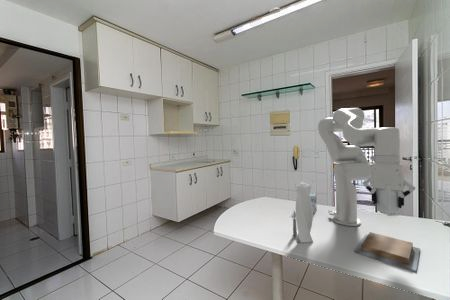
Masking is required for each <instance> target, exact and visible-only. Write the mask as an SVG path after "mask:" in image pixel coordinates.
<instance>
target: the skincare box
mask: <svg viewBox="0 0 450 300" xmlns="http://www.w3.org/2000/svg"><path fill="white" fill-rule="evenodd" d="M398 197H399V194H398V192H397V191H392V190H390V184H385V189H384V190H383V189H376V199H377V203H376V211H377V212H379V213H382V214H384V215H387V216H389V217H394V216H395V217H396V216H398V217H399V216H400V208H398Z"/></svg>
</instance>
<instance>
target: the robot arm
mask: <svg viewBox="0 0 450 300" xmlns="http://www.w3.org/2000/svg"><path fill="white" fill-rule="evenodd" d="M331 116H332V117H325V118H322V119H320V120H319V122H318V125H317V130H318V134H319V136H320V138H321V139H322V141H323V142H324V144H325V146H326V148H327V151H328V154H329V156H330V159H331V160H332V162H334V163H336V164H335V165H334V166H333V170H332V171H333V176H334V181H335V182H334V183H335V207H336V208H335V210H332V209H328V215H329V216H333V217H332V220H333V221H334V223H336V224H338V225H342V226H347V227H356V226H357V227H358V226H360V225H361V223H362V222H361V219H359V218H358V202H357V201H358V198H357V197H358V194H357V193H358V192H357V191H358V190H357V187H356V185H354V183H353V181H354V182H355V181H362V185H363V187H365V188H366V190H367V191H368V192H369V193H370V195H371V201H372V203H373V205H375V204H376V205H377V199H376V189H383V190H384V189H385V184H390V190H392V191H397V192H398V208H399V209H401V208H402V206H403V207H405V206H404V205H405V197H407V196H409V195H410V194H411V193H413V192H414V191H415V190H416V189H417V188H416V186H415V185H413V184H411V183H410V182H409V181H407V180H406V179H405V173H404V172H405V171H404V167H403V164H402V163H400V161H401V158H400V157H401V156H400V154H401V153H400V152H401V151H400V150H401V149H400V129H399V128H398V127H392V126H391V127H370V128H369V127H368V128H367V127H366V128H365V127H364V128H362V127H363V125H364V121H365V120H364V119H365V112H364V110H362V109H361V108H359V107H349V108H339V109H337V110H335V111H334V112H333V113H332V115H331ZM338 132H340V133H341V132H342V135H343V138H344V140H345V141H346V142H347V143H349V144H350V145H345V143H344V142H343V140H342V138H341V137H340V136H339V135H337V134H336V133H338ZM361 147H374V155H373V156H369V158H370V161H373V162H372V164H371V165H370V163H369V161H368V159H367V157H366V155H365V152H364V151H363V149H362V148H361ZM369 184H370V185H369ZM405 186H406V187H407V189H406V190H405V191H404V188H405Z"/></svg>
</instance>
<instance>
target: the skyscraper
mask: <svg viewBox="0 0 450 300" xmlns="http://www.w3.org/2000/svg"><path fill="white" fill-rule="evenodd" d="M305 181H311V182H310V184H309V183H307V182H305ZM313 183H314V179H311V178H304V179H302V180H301V182H299V183H296V184H295V185H294V186H295V187H294V188H295V193H296V197H295V198H296V199H295V210H293V219H292V221H293V222H292V223H293V224H292V237H293V240H295V242H296V243H297V244H307V243H308V244H309V243H314V240H313V237H312V235H311V231H312V226H313V222H314V221H313V220H314V213H313V206H312V201H311V198H310V193H311V190H312V185H313Z"/></svg>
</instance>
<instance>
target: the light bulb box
mask: <svg viewBox="0 0 450 300" xmlns="http://www.w3.org/2000/svg"><path fill="white" fill-rule="evenodd" d="M310 198H311V201H312V206H313V214H316V212H317V209H318V206H317V204H318V203H317V202H318V201H317V193H316V192H310Z"/></svg>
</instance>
